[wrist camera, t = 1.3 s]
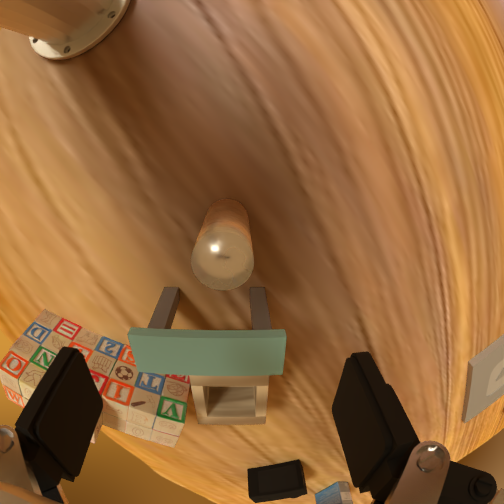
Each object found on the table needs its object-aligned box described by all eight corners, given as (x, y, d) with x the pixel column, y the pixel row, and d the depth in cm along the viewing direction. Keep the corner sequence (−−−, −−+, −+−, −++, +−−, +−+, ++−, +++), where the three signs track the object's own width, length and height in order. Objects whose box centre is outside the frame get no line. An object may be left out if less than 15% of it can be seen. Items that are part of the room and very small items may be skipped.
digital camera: (254, 477, 48) (256, 505, 42) (246, 468, 46) (248, 497, 40) (303, 468, 48) (308, 496, 41) (299, 458, 46) (304, 488, 39)
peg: (205, 198, 27) (189, 232, 18) (248, 198, 27) (254, 232, 18) (206, 239, 29) (192, 290, 19) (248, 239, 29) (253, 290, 20)
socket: (195, 338, 33) (189, 374, 28) (264, 338, 33) (269, 374, 28) (201, 389, 36) (198, 424, 31) (261, 389, 37) (265, 424, 31)
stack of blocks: (194, 365, 35) (183, 447, 24) (183, 394, 37) (172, 469, 26) (43, 307, 31) (-5, 366, 20) (45, 341, 33) (5, 399, 22)
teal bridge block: (156, 276, 30) (127, 334, 21) (272, 276, 31) (286, 337, 21) (161, 308, 31) (137, 371, 22) (270, 309, 32) (282, 374, 23)
